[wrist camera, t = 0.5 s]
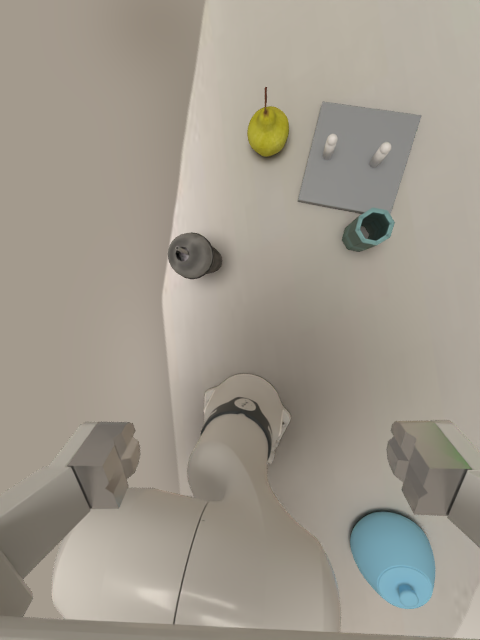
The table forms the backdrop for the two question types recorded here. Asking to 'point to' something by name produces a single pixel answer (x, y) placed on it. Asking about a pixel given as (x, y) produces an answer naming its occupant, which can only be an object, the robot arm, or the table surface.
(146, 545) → the robot arm
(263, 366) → the table surface
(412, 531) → the sugar bowl
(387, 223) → the sleeve
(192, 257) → the beverage cup
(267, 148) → the fruit
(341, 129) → the pin board
